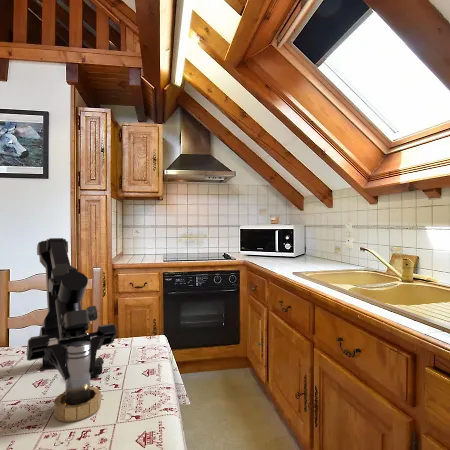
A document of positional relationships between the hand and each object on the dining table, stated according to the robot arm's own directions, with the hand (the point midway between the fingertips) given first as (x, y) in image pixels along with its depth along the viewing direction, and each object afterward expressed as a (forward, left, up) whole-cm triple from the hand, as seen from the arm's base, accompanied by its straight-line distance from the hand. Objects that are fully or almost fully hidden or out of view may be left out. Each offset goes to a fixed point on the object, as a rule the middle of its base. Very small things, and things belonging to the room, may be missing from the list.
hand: (79, 375), depth 69 cm
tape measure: (-3, +20, -8) cm, 22 cm away
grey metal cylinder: (-1, +1, -7) cm, 7 cm away
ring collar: (-1, +1, -8) cm, 8 cm away
